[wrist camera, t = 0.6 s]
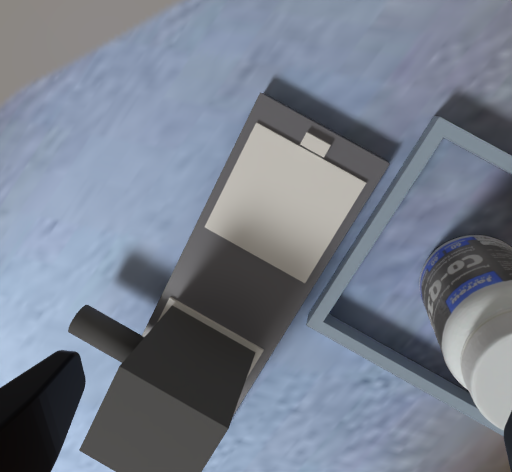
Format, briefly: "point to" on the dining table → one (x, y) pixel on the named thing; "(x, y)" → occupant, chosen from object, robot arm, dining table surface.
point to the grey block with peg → (163, 392)
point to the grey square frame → (362, 245)
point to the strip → (269, 228)
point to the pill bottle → (474, 317)
